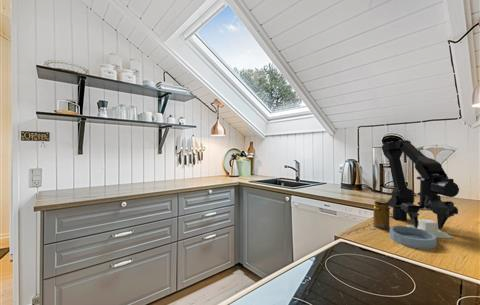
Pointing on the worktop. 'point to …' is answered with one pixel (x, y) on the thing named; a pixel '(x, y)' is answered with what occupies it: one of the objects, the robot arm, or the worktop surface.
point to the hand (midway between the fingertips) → (427, 228)
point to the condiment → (381, 215)
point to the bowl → (413, 237)
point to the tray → (439, 235)
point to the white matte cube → (428, 226)
